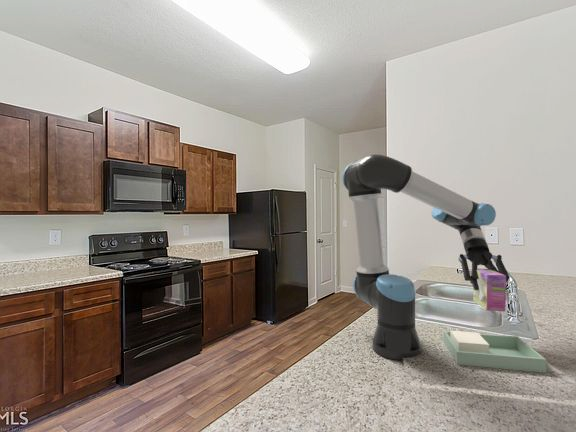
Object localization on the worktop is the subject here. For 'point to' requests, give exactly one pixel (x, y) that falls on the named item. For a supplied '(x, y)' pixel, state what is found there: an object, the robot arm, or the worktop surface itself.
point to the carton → (469, 342)
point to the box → (491, 290)
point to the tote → (499, 354)
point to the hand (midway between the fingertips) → (493, 298)
